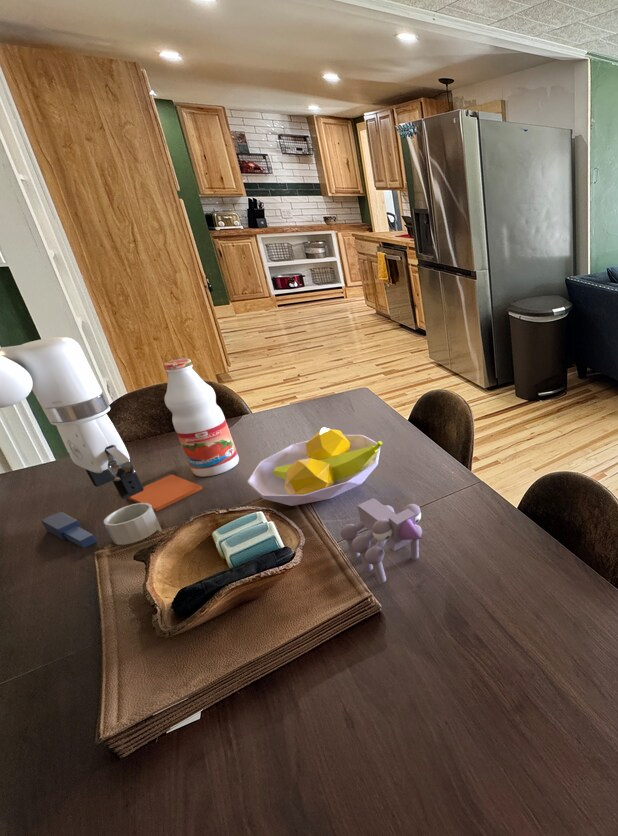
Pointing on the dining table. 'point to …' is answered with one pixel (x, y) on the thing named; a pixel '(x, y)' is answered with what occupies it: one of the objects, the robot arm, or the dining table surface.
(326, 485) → the fruit bowl
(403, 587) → the dining table surface
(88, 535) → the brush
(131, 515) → the white round cup
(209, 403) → the fruit juice
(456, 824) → the dining table surface
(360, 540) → the toy sheep
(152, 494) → the orange tile
